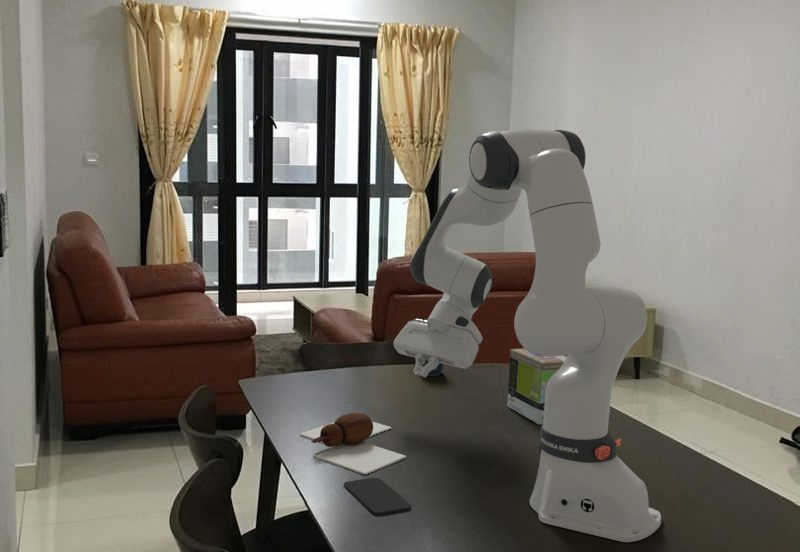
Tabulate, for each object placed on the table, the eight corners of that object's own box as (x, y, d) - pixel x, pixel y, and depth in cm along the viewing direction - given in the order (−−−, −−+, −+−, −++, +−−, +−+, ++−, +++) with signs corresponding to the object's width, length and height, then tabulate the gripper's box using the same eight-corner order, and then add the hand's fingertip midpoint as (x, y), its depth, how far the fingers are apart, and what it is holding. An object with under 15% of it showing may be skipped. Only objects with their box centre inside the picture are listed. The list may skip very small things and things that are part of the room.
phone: (377, 476, 161) (413, 506, 147) (377, 480, 161) (413, 511, 147) (341, 482, 157) (374, 513, 144) (341, 486, 157) (374, 518, 144)
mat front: (391, 428, 189) (391, 427, 189) (338, 448, 176) (338, 446, 176) (353, 417, 196) (353, 415, 196) (299, 435, 183) (299, 433, 183)
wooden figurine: (377, 416, 177) (317, 435, 168) (377, 441, 179) (318, 462, 169) (358, 405, 182) (299, 423, 173) (358, 430, 184) (299, 449, 175)
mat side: (406, 457, 172) (406, 455, 171) (365, 475, 162) (365, 473, 162) (356, 441, 180) (356, 440, 180) (314, 457, 170) (314, 455, 170)
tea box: (575, 422, 198) (579, 360, 195) (537, 426, 194) (541, 363, 192) (541, 403, 211) (544, 345, 209) (505, 406, 208) (508, 347, 205)
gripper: (405, 309, 197) (376, 357, 191) (478, 323, 185) (450, 375, 179) (416, 325, 202) (389, 373, 196) (489, 340, 189) (462, 391, 183)
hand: (419, 374), depth 187 cm, fingers closed
